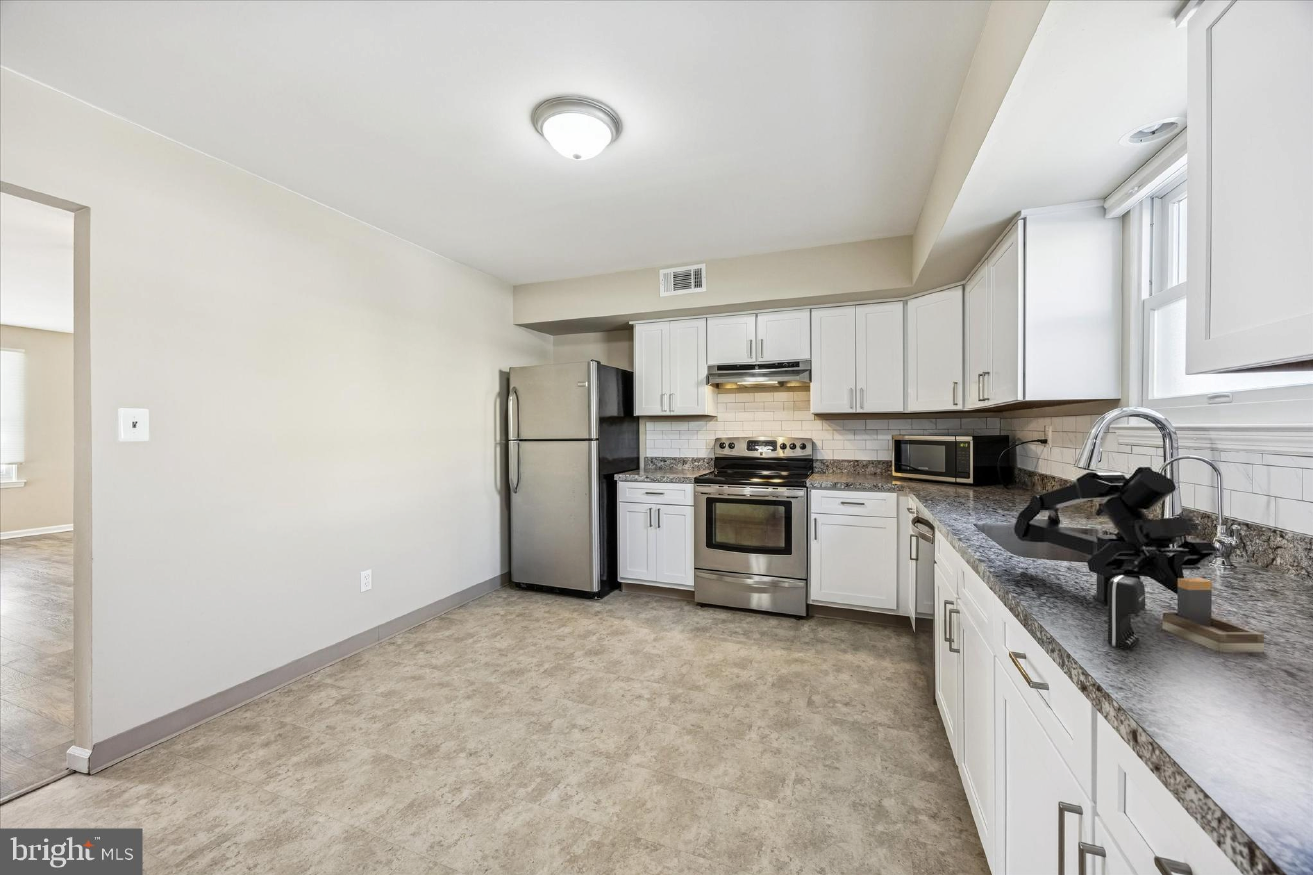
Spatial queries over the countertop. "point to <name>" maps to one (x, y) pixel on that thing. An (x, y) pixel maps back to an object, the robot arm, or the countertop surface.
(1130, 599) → the battery charger
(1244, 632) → the tray
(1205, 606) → the fader lever
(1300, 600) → the countertop surface
